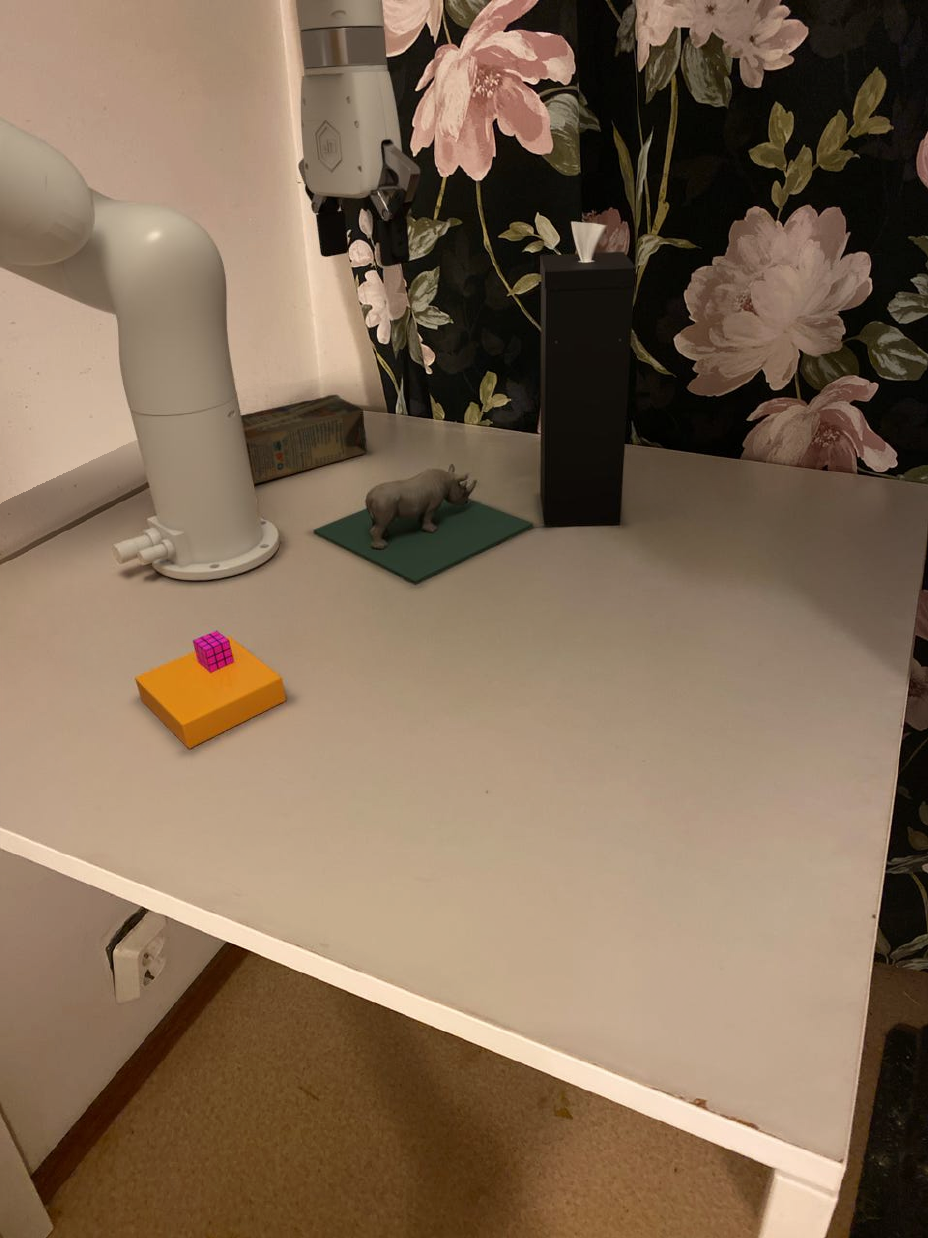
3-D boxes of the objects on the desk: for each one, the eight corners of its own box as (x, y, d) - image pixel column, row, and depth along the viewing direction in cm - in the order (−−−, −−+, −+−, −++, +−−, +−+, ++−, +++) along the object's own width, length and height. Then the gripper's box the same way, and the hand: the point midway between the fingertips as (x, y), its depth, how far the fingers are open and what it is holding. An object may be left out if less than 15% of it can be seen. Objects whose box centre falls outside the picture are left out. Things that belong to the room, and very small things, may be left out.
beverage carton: (371, 454, 108) (365, 402, 104) (226, 496, 98) (215, 441, 95) (340, 437, 113) (333, 387, 110) (200, 476, 104) (188, 423, 100)
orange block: (286, 700, 65) (278, 654, 63) (189, 749, 61) (175, 701, 58) (234, 658, 70) (224, 613, 68) (141, 700, 66) (127, 654, 64)
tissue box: (620, 525, 88) (638, 225, 73) (543, 528, 88) (545, 229, 73) (611, 494, 94) (625, 213, 80) (539, 496, 95) (540, 216, 80)
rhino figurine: (490, 513, 91) (489, 459, 87) (379, 554, 84) (372, 496, 81) (467, 501, 93) (465, 448, 90) (357, 539, 87) (350, 483, 84)
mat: (415, 584, 79) (415, 580, 79) (313, 533, 89) (313, 529, 89) (533, 526, 88) (533, 523, 88) (428, 486, 98) (428, 482, 98)
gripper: (256, 60, 81) (284, 256, 90) (372, 50, 70) (390, 274, 79) (321, 58, 85) (342, 246, 94) (440, 48, 74) (450, 261, 83)
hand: (364, 259), depth 86 cm, fingers open, 9 cm apart
